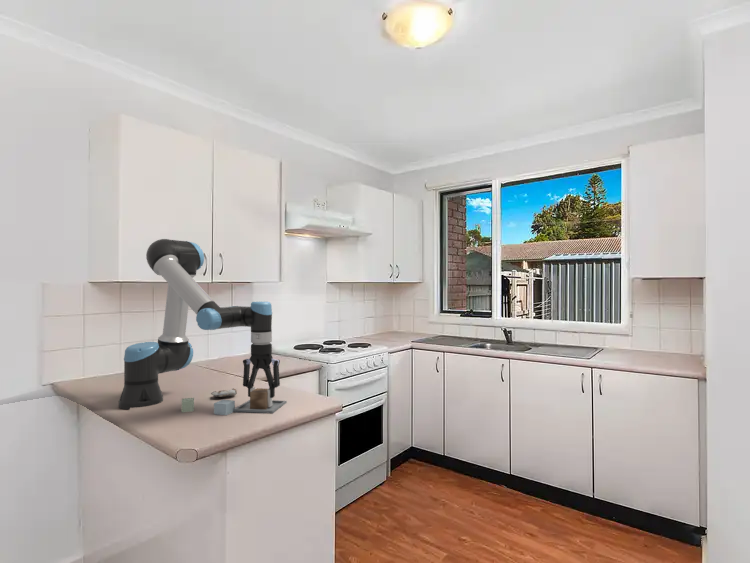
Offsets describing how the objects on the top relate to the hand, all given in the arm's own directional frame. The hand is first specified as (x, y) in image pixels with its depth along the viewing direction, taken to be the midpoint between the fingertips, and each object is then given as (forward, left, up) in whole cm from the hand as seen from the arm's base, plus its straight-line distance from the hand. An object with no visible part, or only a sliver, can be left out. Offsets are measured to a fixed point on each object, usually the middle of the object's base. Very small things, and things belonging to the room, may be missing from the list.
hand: (261, 405), depth 162 cm
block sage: (-25, -7, -1) cm, 26 cm away
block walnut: (0, 0, 0) cm, 0 cm away
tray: (0, 0, -1) cm, 1 cm away
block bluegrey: (-11, -8, -1) cm, 13 cm away
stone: (-18, +11, -1) cm, 21 cm away
